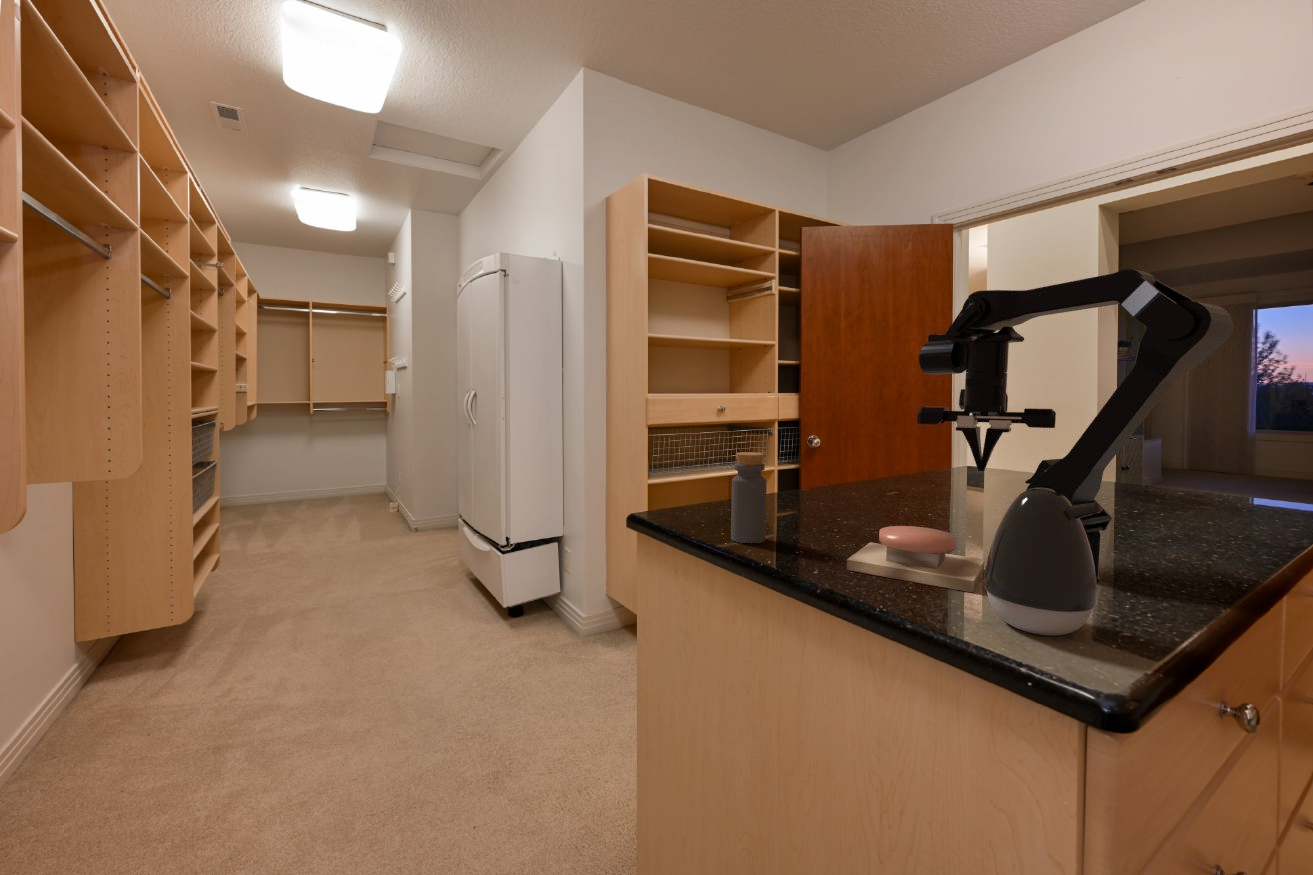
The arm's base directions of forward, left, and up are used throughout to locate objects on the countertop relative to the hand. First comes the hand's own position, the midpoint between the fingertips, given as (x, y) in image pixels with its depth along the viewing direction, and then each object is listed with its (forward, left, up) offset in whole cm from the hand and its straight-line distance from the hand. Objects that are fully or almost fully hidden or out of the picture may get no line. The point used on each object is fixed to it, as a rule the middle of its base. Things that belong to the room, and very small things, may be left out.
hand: (981, 470), depth 92 cm
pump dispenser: (-9, +31, -13) cm, 35 cm away
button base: (+6, +17, -13) cm, 22 cm away
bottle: (+33, +16, -13) cm, 39 cm away
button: (+6, +17, -11) cm, 21 cm away
